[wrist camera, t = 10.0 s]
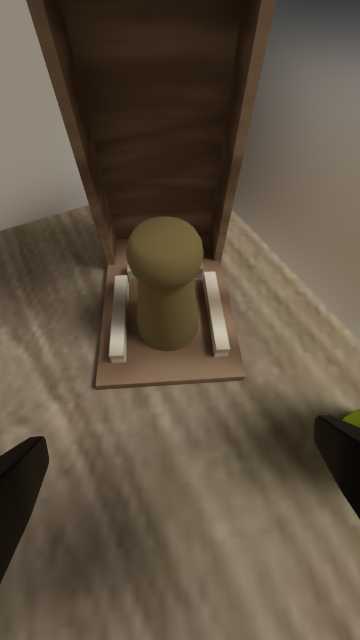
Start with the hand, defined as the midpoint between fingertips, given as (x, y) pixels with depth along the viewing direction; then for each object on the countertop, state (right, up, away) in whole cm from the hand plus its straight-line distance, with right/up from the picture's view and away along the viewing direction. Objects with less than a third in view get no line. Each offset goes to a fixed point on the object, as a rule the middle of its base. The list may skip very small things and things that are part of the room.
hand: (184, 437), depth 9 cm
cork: (-1, +3, +17) cm, 17 cm away
